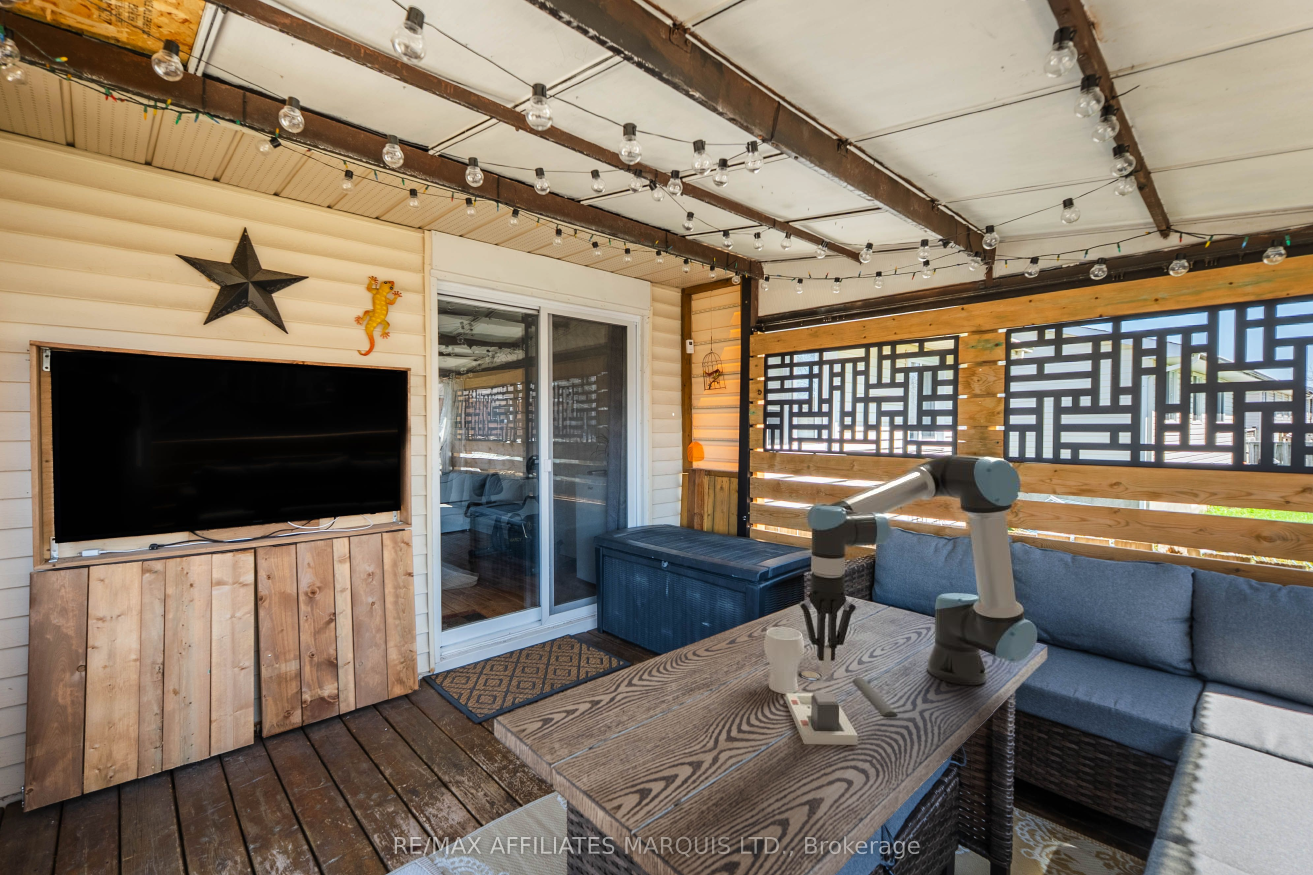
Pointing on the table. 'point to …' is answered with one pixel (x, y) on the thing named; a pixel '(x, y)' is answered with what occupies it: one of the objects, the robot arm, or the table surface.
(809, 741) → the socket plate
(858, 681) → the gray half cylinder
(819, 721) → the plug
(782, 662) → the cup
